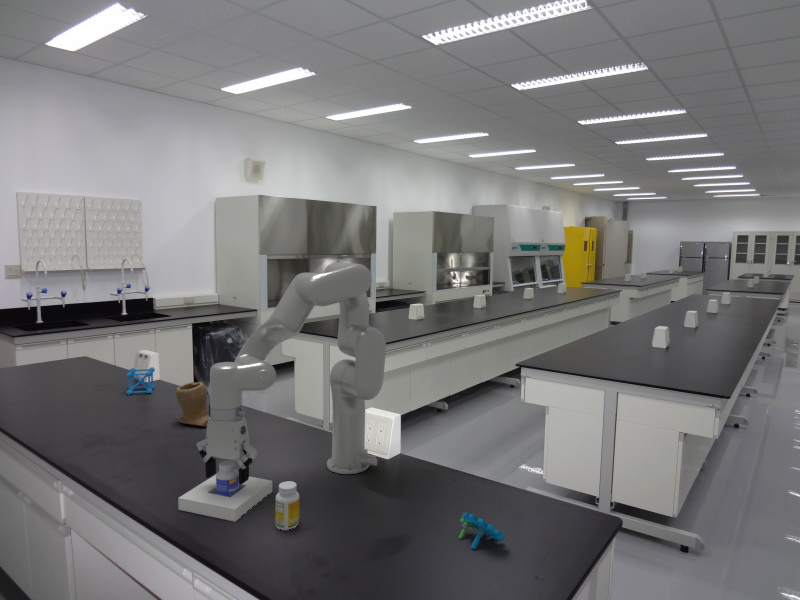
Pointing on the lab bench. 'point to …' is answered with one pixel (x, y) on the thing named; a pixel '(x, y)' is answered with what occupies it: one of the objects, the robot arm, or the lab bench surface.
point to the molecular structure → (140, 380)
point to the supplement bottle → (287, 506)
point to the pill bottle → (227, 479)
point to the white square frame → (224, 499)
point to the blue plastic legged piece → (479, 529)
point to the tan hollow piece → (193, 403)
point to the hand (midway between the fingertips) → (227, 478)
